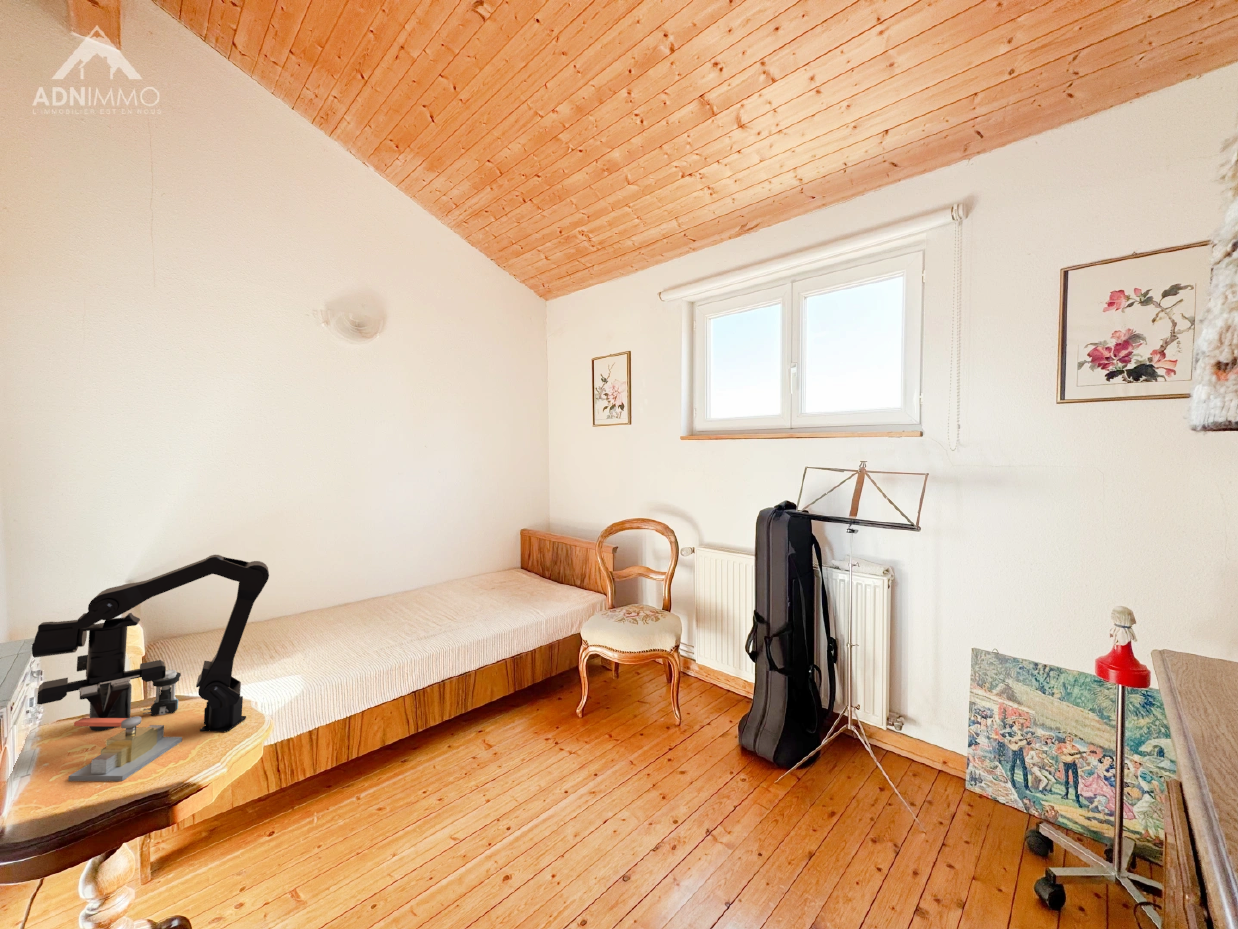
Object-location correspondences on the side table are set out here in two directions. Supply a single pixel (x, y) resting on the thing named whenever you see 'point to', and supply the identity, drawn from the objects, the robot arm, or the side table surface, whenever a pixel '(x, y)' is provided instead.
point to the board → (129, 767)
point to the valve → (126, 747)
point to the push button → (165, 694)
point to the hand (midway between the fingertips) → (103, 720)
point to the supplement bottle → (118, 710)
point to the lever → (109, 722)
